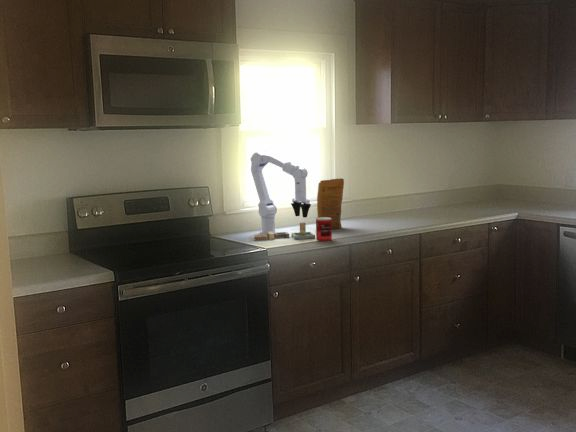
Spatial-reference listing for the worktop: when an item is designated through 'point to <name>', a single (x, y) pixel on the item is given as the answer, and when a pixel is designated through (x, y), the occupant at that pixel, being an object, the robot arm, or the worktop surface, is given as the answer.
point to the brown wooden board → (260, 237)
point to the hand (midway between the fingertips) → (301, 216)
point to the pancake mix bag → (330, 200)
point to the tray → (307, 236)
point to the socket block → (281, 235)
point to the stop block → (271, 235)
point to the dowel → (302, 229)
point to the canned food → (324, 229)
